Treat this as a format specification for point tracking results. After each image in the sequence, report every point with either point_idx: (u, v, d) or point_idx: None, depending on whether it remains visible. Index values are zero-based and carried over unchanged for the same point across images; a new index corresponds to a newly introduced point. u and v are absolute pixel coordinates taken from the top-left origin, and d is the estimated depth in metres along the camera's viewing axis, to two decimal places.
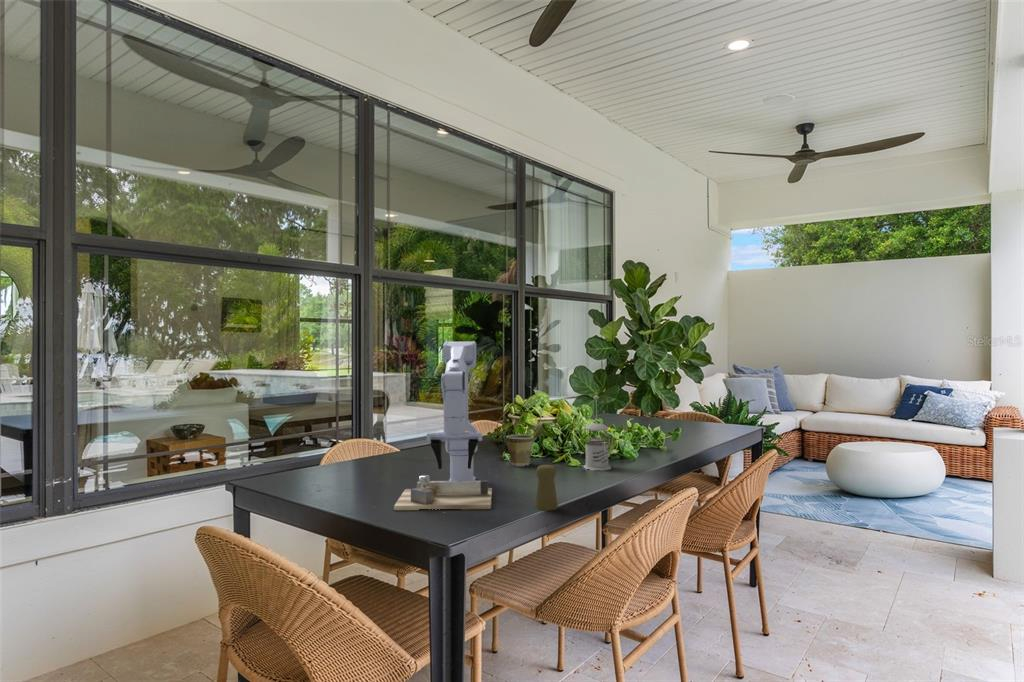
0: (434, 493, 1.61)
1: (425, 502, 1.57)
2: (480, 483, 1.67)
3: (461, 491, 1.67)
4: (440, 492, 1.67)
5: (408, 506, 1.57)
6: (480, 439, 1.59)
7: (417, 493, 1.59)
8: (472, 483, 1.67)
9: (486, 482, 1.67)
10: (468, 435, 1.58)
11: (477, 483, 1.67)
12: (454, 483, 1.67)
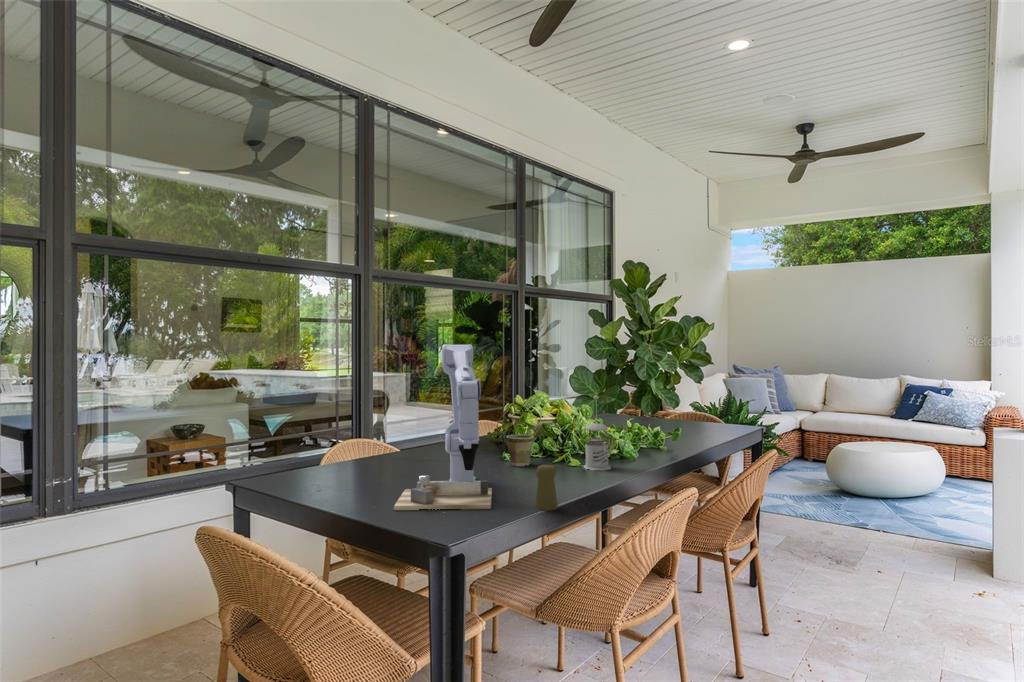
0: (434, 493, 1.61)
1: (425, 502, 1.57)
2: (480, 483, 1.67)
3: (461, 491, 1.67)
4: (440, 492, 1.67)
5: (408, 506, 1.57)
6: (463, 447, 1.67)
7: (417, 493, 1.59)
8: (472, 483, 1.67)
9: (486, 482, 1.67)
10: (461, 441, 1.70)
11: (477, 483, 1.67)
12: (454, 483, 1.67)
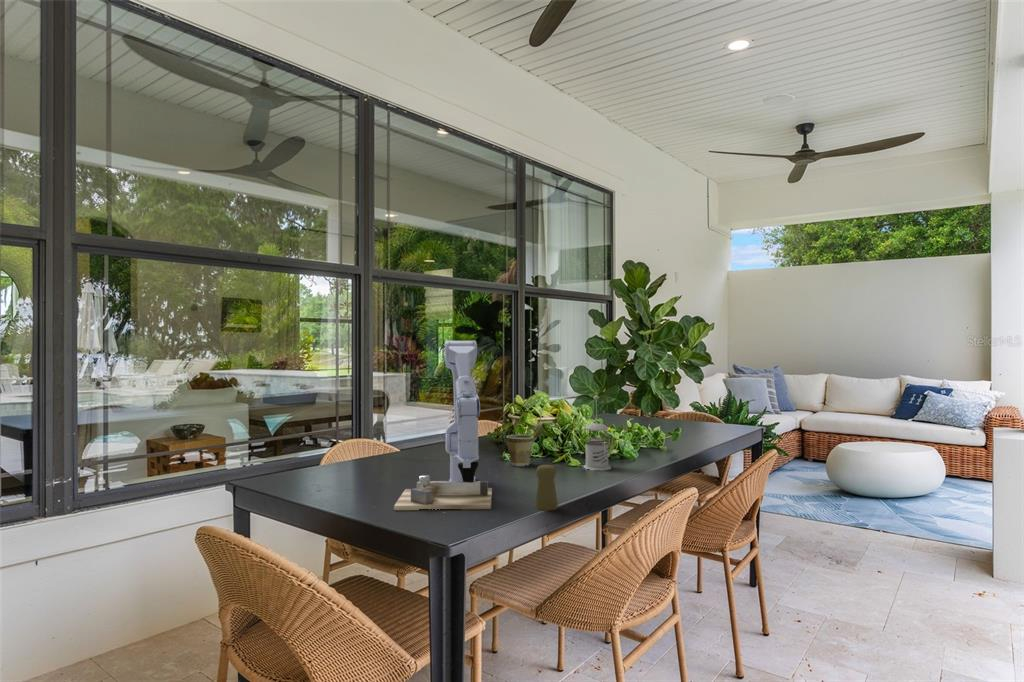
0: (434, 493, 1.61)
1: (425, 502, 1.57)
2: (480, 484, 1.66)
3: (461, 491, 1.66)
4: (440, 492, 1.67)
5: (408, 506, 1.57)
6: (463, 466, 1.62)
7: (417, 493, 1.59)
8: (472, 484, 1.66)
9: (486, 483, 1.66)
10: (460, 459, 1.66)
11: (477, 484, 1.66)
12: (454, 483, 1.67)
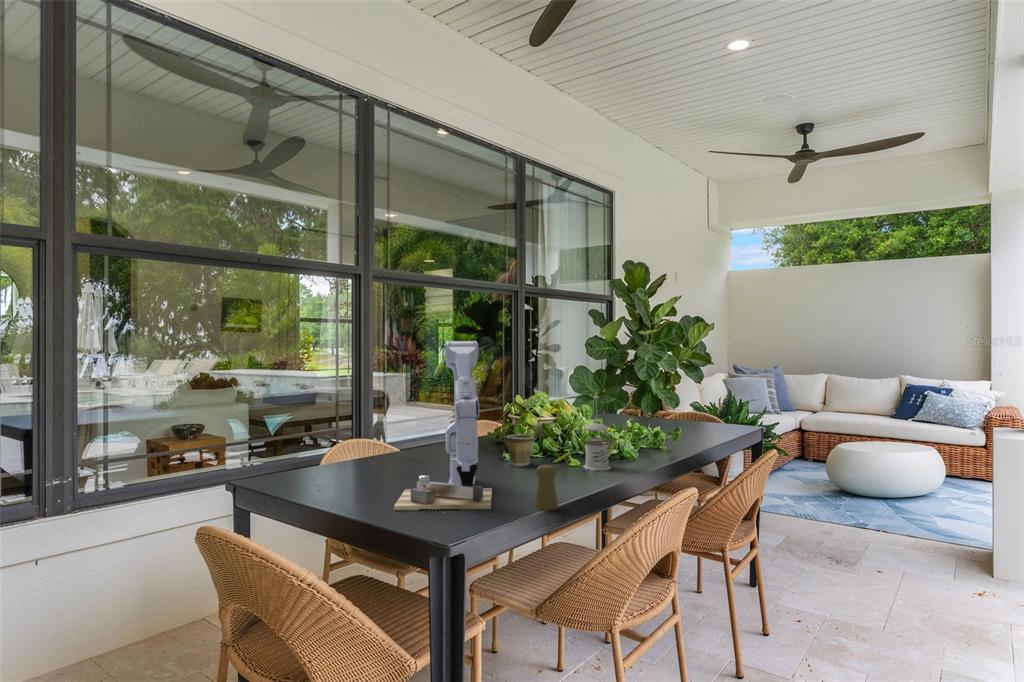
0: (434, 493, 1.61)
1: (425, 502, 1.57)
2: (472, 489, 1.61)
3: (455, 495, 1.63)
4: (437, 494, 1.65)
5: (408, 506, 1.57)
6: (461, 469, 1.58)
7: (417, 493, 1.59)
8: (465, 488, 1.62)
9: (478, 488, 1.60)
10: (459, 462, 1.61)
11: (470, 488, 1.61)
12: (449, 486, 1.64)
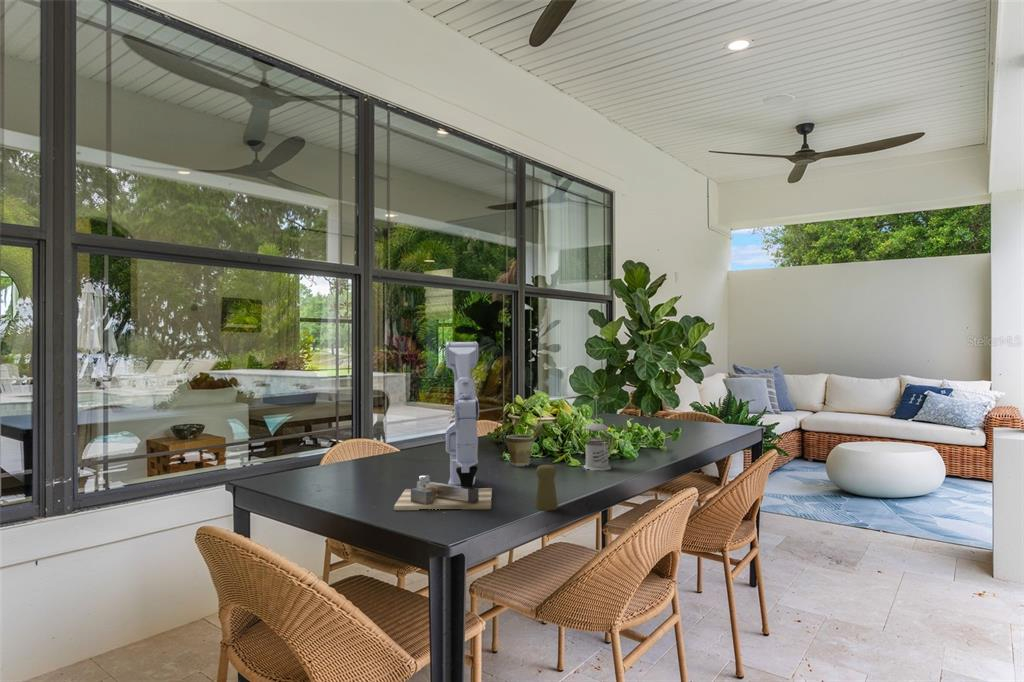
0: (434, 493, 1.61)
1: (425, 502, 1.57)
2: (468, 490, 1.59)
3: (452, 496, 1.62)
4: None
5: (408, 506, 1.57)
6: (461, 471, 1.57)
7: (417, 493, 1.59)
8: (461, 489, 1.60)
9: (473, 490, 1.58)
10: (458, 464, 1.60)
11: (465, 490, 1.59)
12: (446, 487, 1.63)
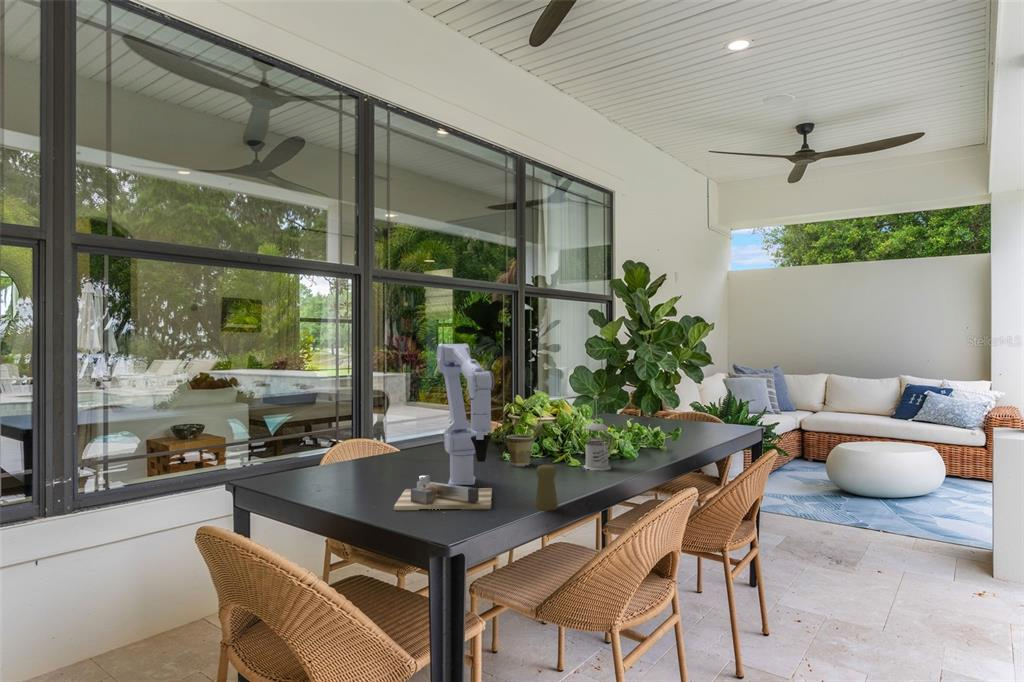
0: (434, 493, 1.61)
1: (425, 502, 1.57)
2: (468, 490, 1.59)
3: (452, 496, 1.62)
4: None
5: (408, 506, 1.57)
6: (476, 438, 1.66)
7: (417, 493, 1.59)
8: (461, 489, 1.60)
9: (473, 490, 1.58)
10: (473, 432, 1.69)
11: (465, 490, 1.59)
12: (446, 487, 1.63)
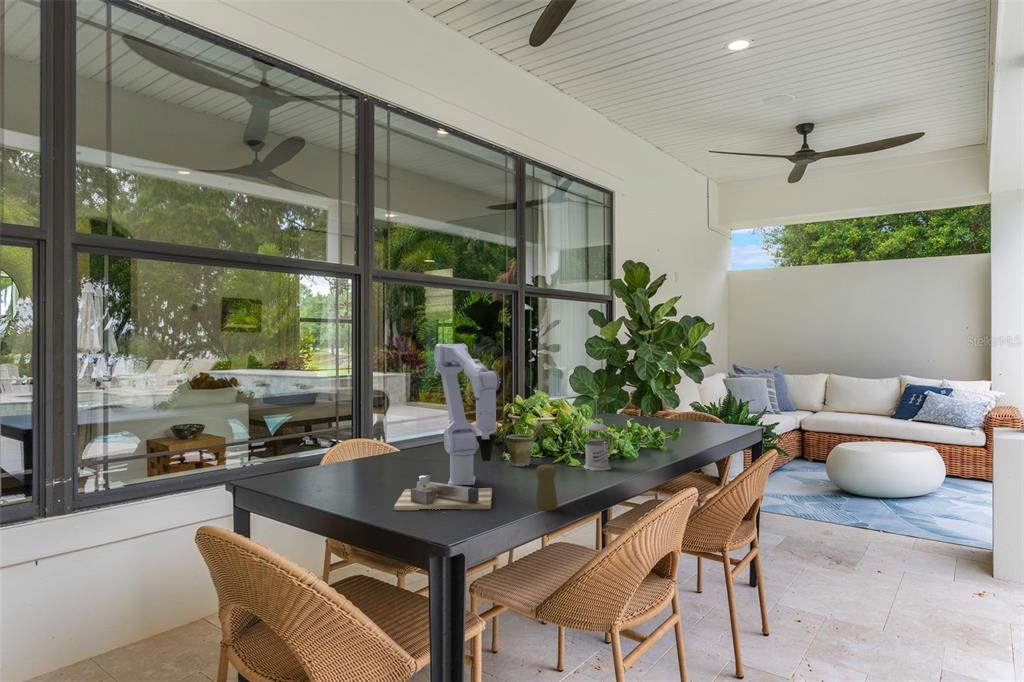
0: (434, 493, 1.61)
1: (425, 502, 1.57)
2: (468, 490, 1.59)
3: (452, 496, 1.62)
4: None
5: (408, 506, 1.57)
6: (481, 437, 1.67)
7: (417, 493, 1.59)
8: (461, 489, 1.60)
9: (473, 490, 1.58)
10: (479, 431, 1.70)
11: (465, 490, 1.59)
12: (446, 487, 1.63)
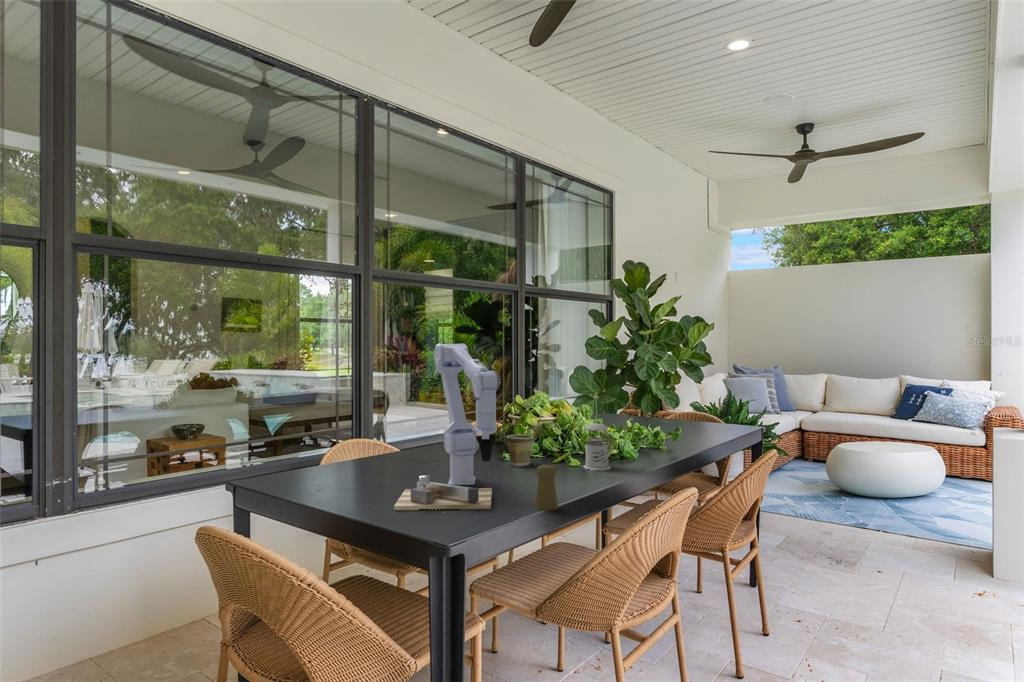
0: (434, 493, 1.61)
1: (425, 502, 1.57)
2: (468, 490, 1.59)
3: (452, 496, 1.62)
4: None
5: (408, 506, 1.57)
6: (481, 437, 1.67)
7: (417, 493, 1.59)
8: (461, 489, 1.60)
9: (473, 490, 1.58)
10: (479, 431, 1.70)
11: (465, 490, 1.59)
12: (446, 487, 1.63)
